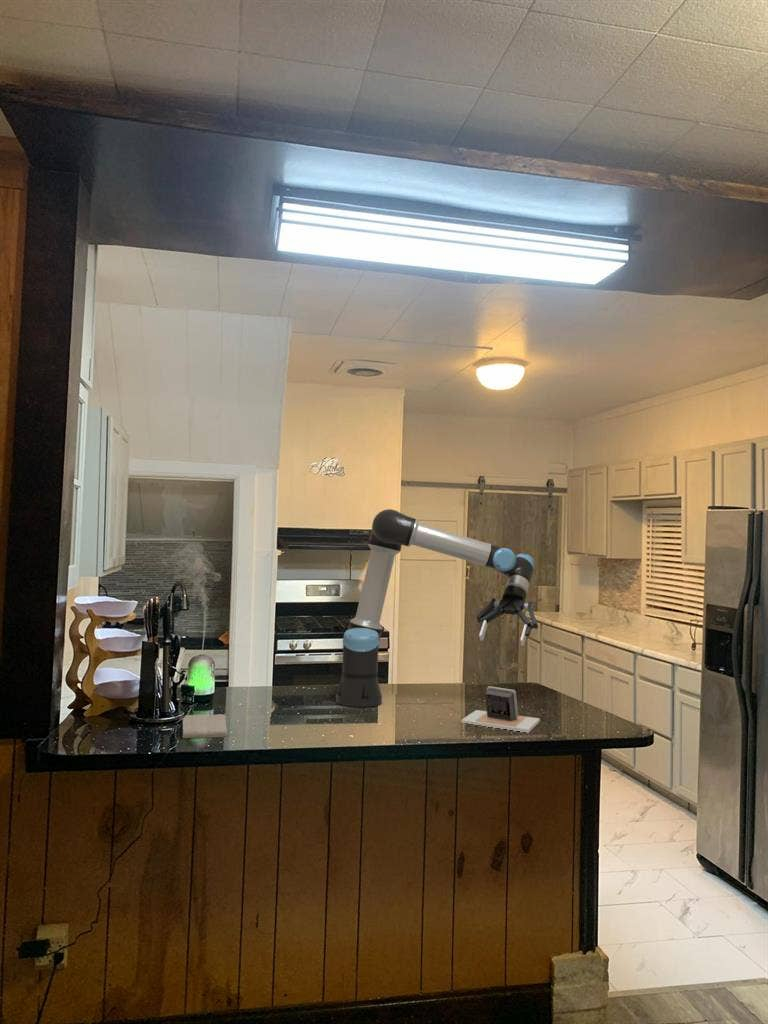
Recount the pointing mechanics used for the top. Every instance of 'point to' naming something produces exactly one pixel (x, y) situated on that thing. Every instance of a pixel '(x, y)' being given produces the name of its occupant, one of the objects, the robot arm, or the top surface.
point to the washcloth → (204, 726)
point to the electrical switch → (501, 703)
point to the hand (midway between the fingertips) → (501, 640)
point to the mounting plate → (501, 722)
